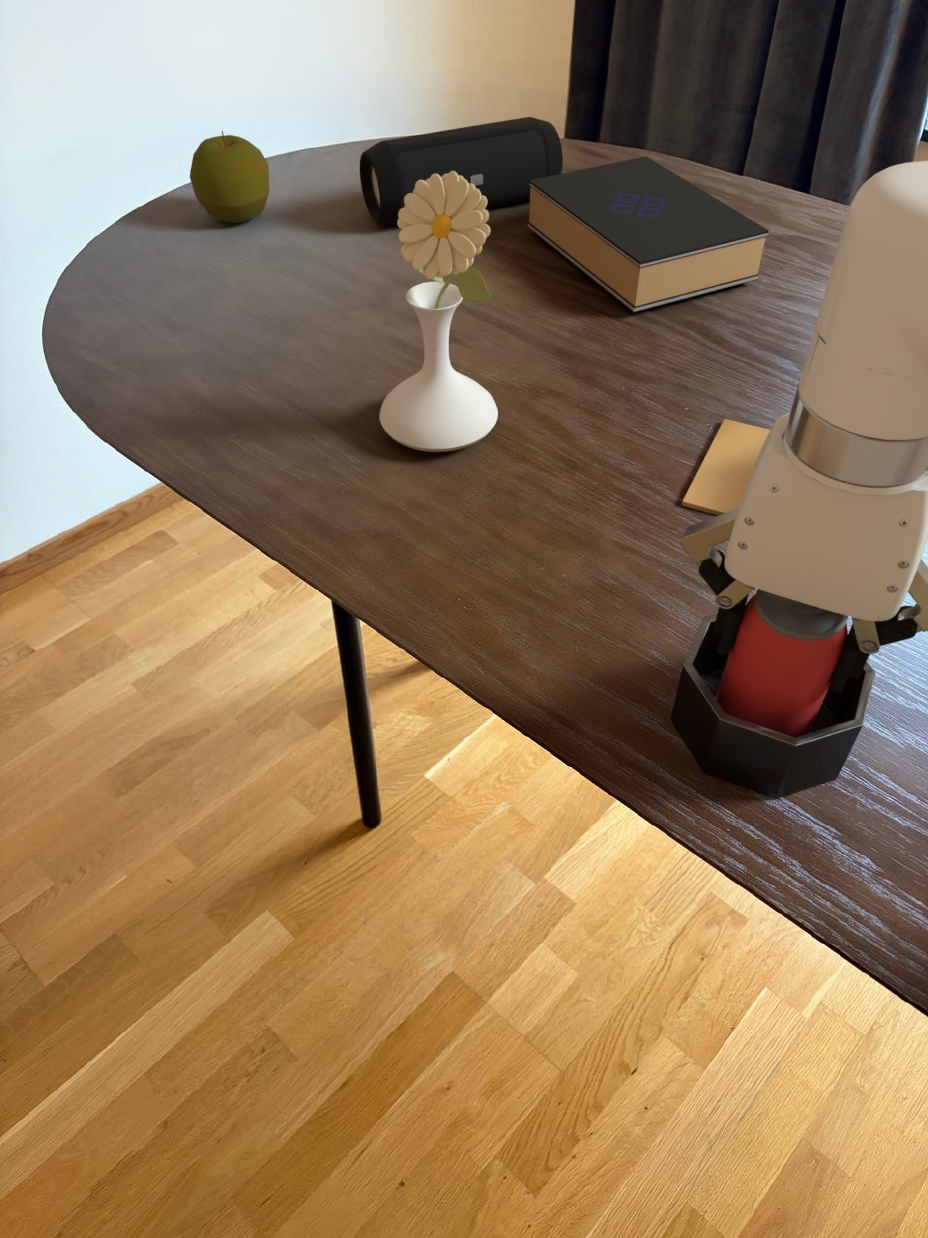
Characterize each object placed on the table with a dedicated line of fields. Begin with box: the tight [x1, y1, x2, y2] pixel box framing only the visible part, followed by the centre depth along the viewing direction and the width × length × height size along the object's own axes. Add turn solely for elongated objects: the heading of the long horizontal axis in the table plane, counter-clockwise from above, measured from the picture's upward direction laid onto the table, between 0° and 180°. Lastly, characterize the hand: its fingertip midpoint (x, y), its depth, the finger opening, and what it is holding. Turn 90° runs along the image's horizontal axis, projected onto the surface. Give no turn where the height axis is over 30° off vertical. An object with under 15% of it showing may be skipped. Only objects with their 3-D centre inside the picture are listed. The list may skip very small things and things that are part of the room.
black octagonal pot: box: [669, 613, 876, 800], centre depth 64 cm, size 12×12×6 cm
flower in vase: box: [378, 171, 499, 453], centre depth 82 cm, size 13×11×25 cm
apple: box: [189, 130, 271, 224], centre depth 121 cm, size 10×10×11 cm
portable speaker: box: [359, 116, 564, 226], centre depth 123 cm, size 26×10×10 cm, turn 113°
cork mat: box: [681, 418, 771, 516], centre depth 85 cm, size 12×14×1 cm
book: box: [526, 155, 770, 313], centre depth 113 cm, size 17×25×7 cm
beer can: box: [715, 589, 849, 738], centre depth 62 cm, size 7×7×12 cm
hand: (782, 657), depth 61 cm, fingers closed on beer can, 6 cm apart
